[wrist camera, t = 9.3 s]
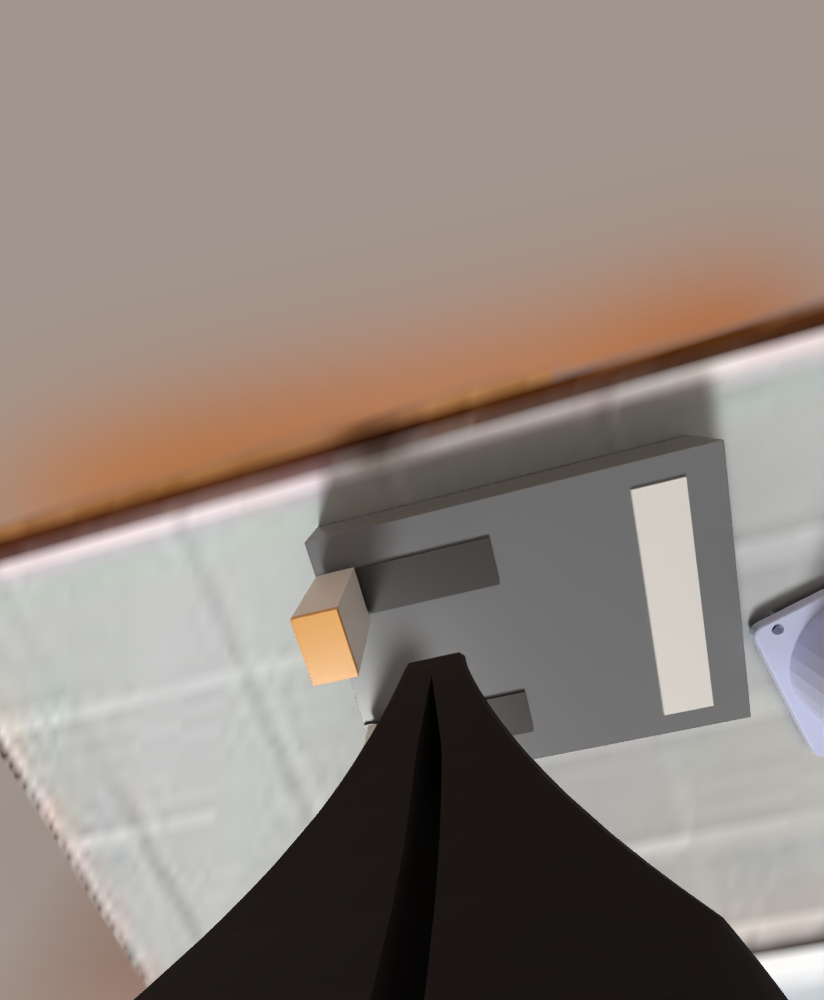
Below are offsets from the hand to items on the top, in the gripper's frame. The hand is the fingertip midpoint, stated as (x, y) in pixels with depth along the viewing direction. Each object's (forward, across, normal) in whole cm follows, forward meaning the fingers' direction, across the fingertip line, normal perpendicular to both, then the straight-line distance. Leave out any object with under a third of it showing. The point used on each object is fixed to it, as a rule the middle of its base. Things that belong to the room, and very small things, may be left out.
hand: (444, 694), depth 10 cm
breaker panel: (+9, -3, +3) cm, 10 cm away
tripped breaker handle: (+7, +4, 0) cm, 8 cm away
